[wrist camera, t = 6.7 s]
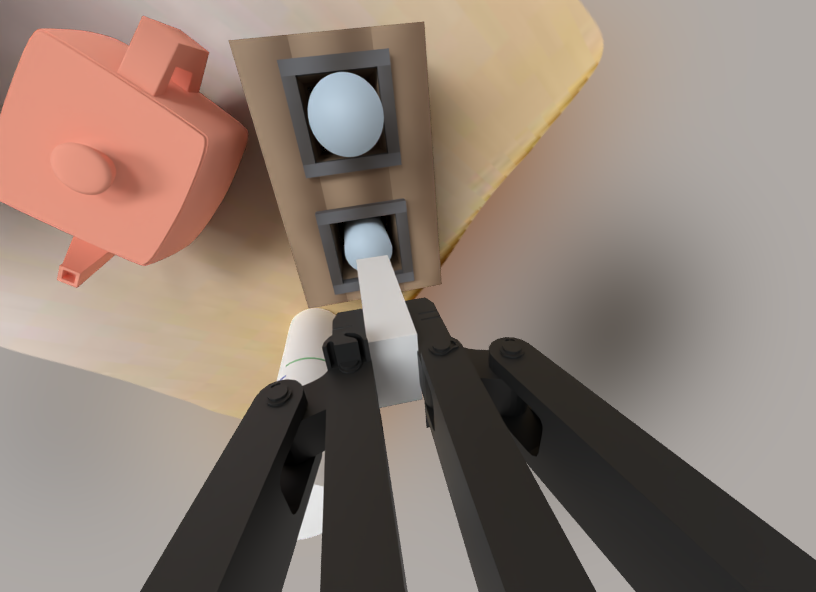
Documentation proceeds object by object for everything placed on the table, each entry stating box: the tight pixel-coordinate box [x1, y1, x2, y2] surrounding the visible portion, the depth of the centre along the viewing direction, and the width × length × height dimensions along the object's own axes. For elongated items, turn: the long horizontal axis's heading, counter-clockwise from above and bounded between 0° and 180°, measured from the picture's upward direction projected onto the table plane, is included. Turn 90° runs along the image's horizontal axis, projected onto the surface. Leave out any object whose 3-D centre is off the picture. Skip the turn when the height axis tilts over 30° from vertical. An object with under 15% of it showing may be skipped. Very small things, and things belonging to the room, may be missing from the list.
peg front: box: [308, 72, 384, 157], centre depth 23 cm, size 4×4×9 cm
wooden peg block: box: [229, 22, 442, 308], centre depth 33 cm, size 14×22×11 cm, turn 6°
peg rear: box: [344, 216, 392, 270], centre depth 35 cm, size 4×4×9 cm
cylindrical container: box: [277, 308, 336, 540], centre depth 36 cm, size 7×7×25 cm
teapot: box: [0, 16, 248, 288], centre depth 28 cm, size 22×13×14 cm, turn 142°
